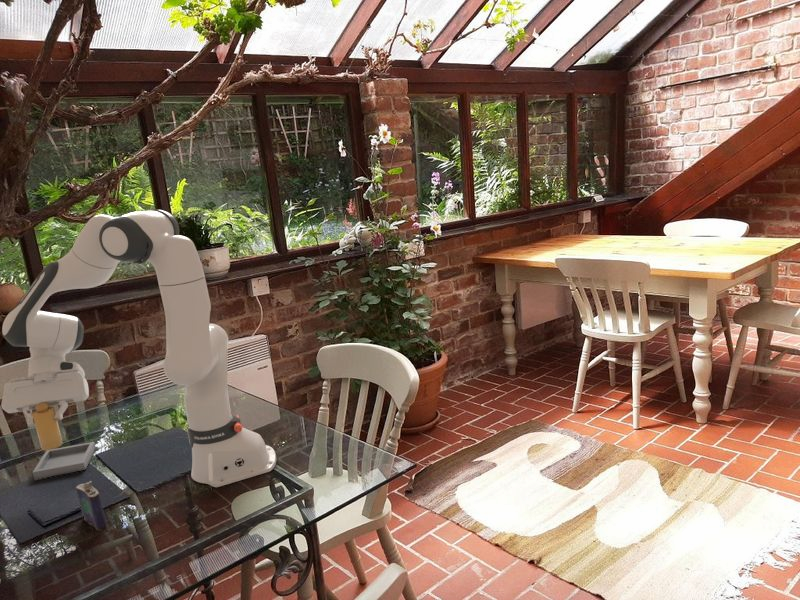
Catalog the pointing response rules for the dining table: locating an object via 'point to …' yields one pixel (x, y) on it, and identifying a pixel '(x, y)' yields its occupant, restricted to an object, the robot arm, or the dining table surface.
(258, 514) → the dining table surface
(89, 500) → the flask
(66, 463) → the gray tray
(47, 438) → the amber bottle
